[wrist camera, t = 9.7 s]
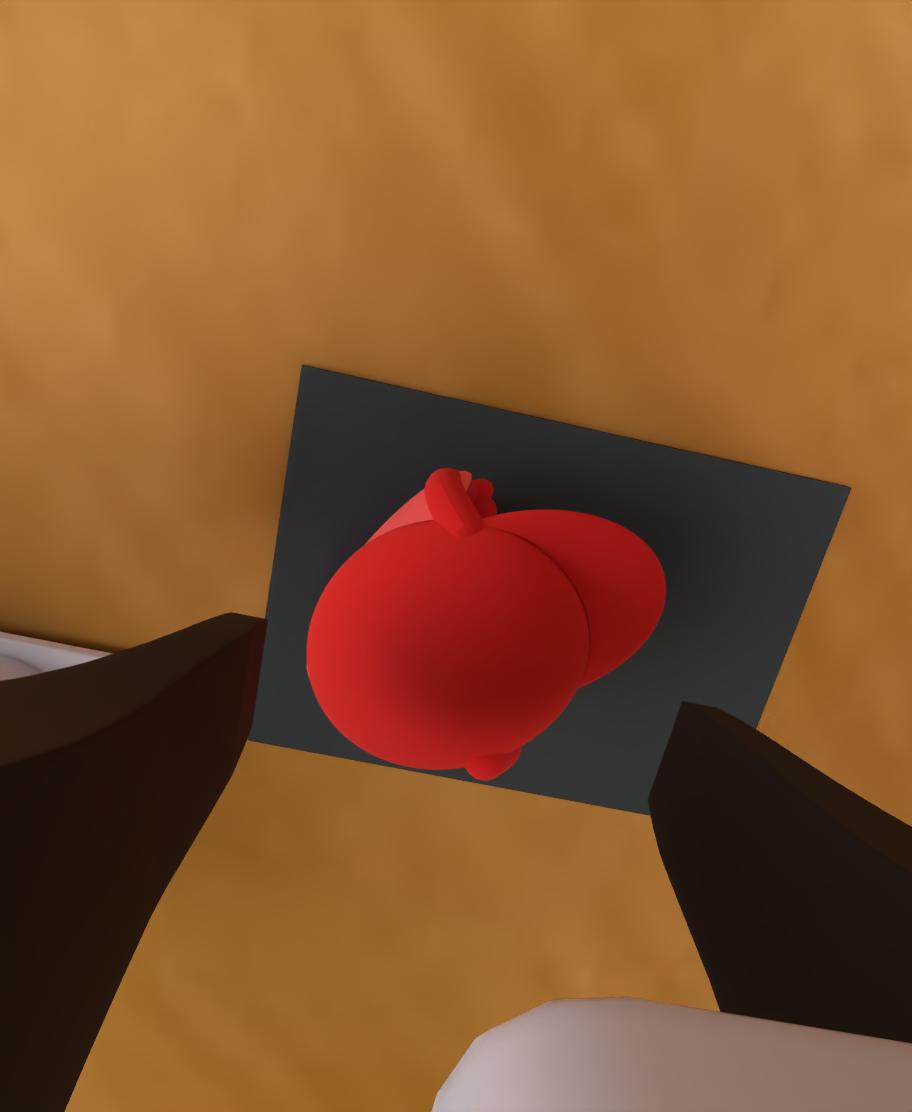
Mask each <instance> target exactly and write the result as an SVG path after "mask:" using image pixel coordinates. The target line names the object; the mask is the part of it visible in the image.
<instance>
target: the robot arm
mask: <svg viewBox="0 0 912 1112" xmlns="http://www.w3.org/2000/svg"><path fill="white" fill-rule="evenodd" d="M267 622H268V619H263V618H258V617H252V616H247V615H242V614H237V613H232V612H231V613H226V614H223V615H219V616H216V617H214V618H211V619H208V620H205V621H203V622H200V623H198V624H195V625H192V626H190V627H187V628H185V629H182V630H179V631H177V632H174V633H172V634H169V635H166V636H164V637H161V638H158V639H156V640H153V641H150V642H147V643H144V644H141V645H138V646H135V647H132V648H129V649H126V650H123V651H120V652H117V653H114V654H113V653H108V652H103V651H97V650H92V649H87V648H82V647H77V646H72V645H66V644H61V643H56V642H51V641H46V640H40V639H35V638H30V637H25V636H20V635H14V634H9V633H4V632H0V1112H64V1111H65V1109H66V1107H67V1104H68V1102H69V1100H70V1097H71V1095H72V1092H73V1090H74V1088H75V1085H76V1083H77V1081H78V1078H79V1076H80V1074H81V1071H82V1069H83V1067H84V1064H85V1062H86V1059H87V1057H88V1055H89V1053H90V1050H91V1048H92V1046H93V1044H94V1041H95V1039H96V1037H97V1035H98V1032H99V1030H100V1028H101V1026H102V1023H103V1021H104V1019H105V1016H106V1014H107V1012H108V1010H109V1007H110V1005H111V1003H112V1001H113V998H114V996H115V994H116V992H117V989H118V987H119V985H120V983H121V980H122V978H123V976H124V974H125V972H126V969H127V967H128V965H129V963H130V961H131V959H132V956H133V954H134V952H135V950H136V948H137V946H138V943H139V941H140V939H141V937H142V935H143V932H144V930H145V928H146V926H147V924H148V922H149V919H150V917H151V915H152V913H153V912H154V910H155V908H156V906H157V904H158V902H159V900H160V898H161V897H162V895H163V893H164V891H165V889H166V887H167V886H168V884H169V882H170V881H171V879H172V877H173V875H174V874H175V872H176V870H177V869H178V867H179V865H180V864H181V862H182V860H183V859H184V857H185V855H186V853H187V852H188V850H189V848H190V847H191V845H192V843H193V842H194V840H195V838H196V836H197V835H198V833H199V831H200V830H201V828H202V826H203V825H204V823H205V821H206V820H207V818H208V816H209V814H210V813H211V811H212V809H213V808H214V806H215V804H216V802H217V801H218V799H219V797H220V796H221V794H222V792H223V790H224V789H225V787H226V785H227V783H228V782H229V780H230V778H231V776H232V774H233V772H234V770H235V767H236V765H237V762H238V760H239V758H240V755H241V753H242V751H243V748H244V746H245V743H246V741H247V738H248V736H249V733H250V731H251V728H252V725H253V718H254V711H255V704H256V697H257V691H258V684H259V677H260V670H261V663H262V656H263V650H264V643H265V636H266V629H267ZM648 805H649V809H650V814H651V819H652V824H653V829H654V833H655V836H656V840H657V844H658V848H659V852H660V855H661V858H662V861H663V863H664V866H665V869H666V871H667V874H668V877H669V879H670V882H671V884H672V887H673V889H674V892H675V895H676V897H677V900H678V902H679V905H680V907H681V910H682V912H683V915H684V917H685V920H686V922H687V925H688V927H689V930H690V932H691V935H692V937H693V940H694V942H695V945H696V948H697V950H698V953H699V955H700V958H701V960H702V963H703V965H704V968H705V970H706V973H707V975H708V978H709V980H710V983H711V986H712V989H713V992H714V995H715V997H716V1000H717V1003H718V1006H719V1009H720V1012H717V1011H711V1010H705V1009H699V1008H693V1007H687V1006H681V1005H675V1004H669V1003H663V1002H657V1001H650V1000H644V999H638V998H632V997H605V998H581V999H557V1000H549V1001H547V1002H545V1003H543V1004H541V1005H539V1006H537V1007H535V1008H533V1009H531V1010H529V1011H527V1012H525V1013H523V1014H520V1015H518V1016H516V1017H514V1018H512V1019H510V1020H508V1021H506V1022H504V1023H502V1024H500V1025H498V1026H496V1027H494V1028H492V1029H489V1030H487V1031H486V1032H484V1033H483V1034H481V1035H480V1036H478V1037H477V1038H475V1040H474V1041H473V1043H472V1044H471V1046H470V1047H469V1048H468V1050H467V1051H466V1053H465V1054H464V1056H463V1057H462V1058H461V1060H460V1061H459V1063H458V1064H457V1066H456V1067H455V1068H454V1070H453V1071H452V1073H451V1074H450V1076H449V1077H448V1078H447V1080H446V1081H445V1083H444V1084H443V1086H442V1087H441V1088H440V1090H439V1091H438V1093H437V1095H436V1099H435V1102H434V1106H433V1109H432V1112H912V827H911V826H909V825H908V824H906V823H904V822H902V821H901V820H899V819H897V818H895V817H894V816H892V815H890V814H888V813H887V812H885V811H883V810H882V809H880V808H878V807H877V806H875V805H873V804H872V803H870V802H868V801H867V800H865V799H863V798H862V797H860V796H859V795H857V794H855V793H854V792H852V791H850V790H849V789H847V788H845V787H844V786H842V785H841V784H839V783H838V782H836V781H834V780H833V779H831V778H830V777H828V776H827V775H825V774H824V773H822V772H820V771H819V770H817V769H816V768H814V767H813V766H811V765H810V764H808V763H807V762H805V761H804V760H802V759H801V758H799V757H798V756H796V755H795V754H793V753H791V752H790V751H788V750H787V749H785V748H784V747H782V746H781V745H779V744H778V743H776V742H775V741H773V740H772V739H770V738H769V737H767V736H766V735H764V734H763V733H761V732H759V731H758V730H756V729H755V728H753V727H751V726H750V725H748V724H747V723H745V722H743V721H742V720H740V719H738V718H736V717H735V716H733V715H731V714H729V713H727V712H725V711H723V710H721V709H719V708H716V707H711V706H706V705H701V704H696V703H691V702H686V701H682V703H681V706H680V709H679V712H678V715H677V717H676V720H675V723H674V726H673V729H672V732H671V734H670V737H669V740H668V743H667V746H666V749H665V751H664V754H663V757H662V760H661V763H660V766H659V768H658V771H657V774H656V777H655V780H654V783H653V786H652V788H651V791H650V794H649V797H648Z"/></svg>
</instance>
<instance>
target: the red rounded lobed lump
mask: <svg viewBox="0 0 912 1112" xmlns="http://www.w3.org/2000/svg"><path fill="white" fill-rule="evenodd" d="M471 478H472V474H471V473H469V472H467V471H458V470H455V469H452V468H442V469H438V470H436V471H435V472H433V473H432V474H431V475H430V477H429V478H428V480H427V482H426V484H425V489H423V490H422V491H420V492H419V493H418V494H416V495H415V496H414V497H413V498H411V499H410V500H409V501H408V502H407V503H406V504H404V505H403V506H402V507H401V508H400V509H399V510H398V511H397V512H396V513H394V514H393V515H392V516H391V517H390V518H389V519H388V520H387V521H386V522H385V523H384V524H383V525H382V526H381V527H380V528H379V529H378V531H377V532H376V533H375V534H374V535H373V536H372V537H371V538H370V539H369V540H368V542H367V543H366V544H365V545H364V546H363V547H361V548H360V549H359V550H358V551H356V552H355V553H354V554H353V555H352V556H351V557H350V558H349V559H348V560H347V561H346V562H345V563H344V564H343V565H342V566H341V567H340V568H339V569H338V571H337V572H336V573H335V574H334V576H333V577H332V578H331V580H330V581H329V583H328V584H327V586H326V587H325V589H324V591H323V593H322V595H321V596H320V598H319V601H318V603H317V605H316V607H315V610H314V613H313V616H312V619H311V623H310V627H309V632H308V638H307V672H308V676H309V679H310V681H311V685H312V688H313V691H314V694H315V696H316V698H317V700H318V702H319V704H320V706H321V708H322V710H323V711H324V713H325V714H326V716H327V717H328V719H329V720H330V721H331V722H332V724H333V725H334V726H335V727H336V728H337V729H338V730H339V731H340V732H341V733H342V734H343V735H344V736H345V737H346V738H347V739H348V740H350V741H351V742H352V743H354V744H355V745H356V746H358V747H359V748H361V749H363V750H364V751H366V752H368V753H370V754H372V755H374V756H376V757H378V758H380V759H383V760H385V761H388V762H391V763H394V764H398V765H402V766H406V767H412V768H419V769H430V770H445V769H456V768H464V767H465V768H466V770H467V771H468V773H469V774H470V775H471V776H473V777H474V778H476V779H478V780H484V781H487V780H491V779H494V778H496V777H497V776H498V775H500V774H502V773H503V772H505V771H506V770H508V769H509V768H510V767H511V766H512V765H513V764H515V762H516V761H517V759H518V757H519V755H520V752H521V748H522V746H523V745H524V744H526V743H528V742H529V741H531V740H532V739H533V738H535V737H536V736H537V735H539V734H540V733H541V732H543V731H544V730H545V729H546V728H547V727H548V726H549V725H550V724H551V723H552V722H553V721H554V720H555V719H556V718H557V717H558V716H559V715H560V714H561V713H562V711H563V710H564V709H565V708H566V706H567V705H568V704H569V702H570V701H571V699H572V697H573V696H574V694H575V693H576V691H577V689H578V688H580V687H582V686H585V685H587V684H589V683H591V682H593V681H595V680H597V679H599V678H601V677H602V676H604V675H606V674H608V673H609V672H611V671H612V670H614V669H615V668H617V667H618V666H620V665H621V664H622V663H624V662H625V661H626V660H627V659H628V658H630V657H631V656H632V655H633V654H634V653H635V652H636V651H637V650H638V649H639V648H640V647H641V646H642V645H643V644H644V642H645V641H646V640H647V639H648V637H649V636H650V635H651V633H652V632H653V630H654V628H655V627H656V625H657V623H658V621H659V619H660V617H661V614H662V611H663V608H664V604H665V598H666V581H665V576H664V572H663V569H662V566H661V564H660V562H659V560H658V558H657V557H656V555H655V554H654V552H653V551H652V550H651V548H650V547H649V546H648V545H647V544H646V543H645V542H644V541H643V540H642V539H641V538H639V537H638V536H637V535H636V534H634V533H633V532H631V531H630V530H628V529H626V528H625V527H623V526H621V525H619V524H617V523H614V522H612V521H610V520H607V519H604V518H601V517H598V516H594V515H591V514H586V513H581V512H575V511H568V510H553V509H539V510H523V511H515V512H508V513H503V514H498V515H497V507H496V504H495V502H494V500H493V499H492V498H491V497H492V495H493V491H494V489H493V485H492V484H491V482H490V481H488V480H486V479H476V480H472V479H471Z"/></svg>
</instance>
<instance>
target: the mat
mask: <svg viewBox="0 0 912 1112" xmlns="http://www.w3.org/2000/svg"><path fill="white" fill-rule="evenodd" d="M442 468H452V469H455V470H458V471H467V472H469V473H471V474H472V478H471V479H472V480H476V479H486V480H488V481H490V482H491V484H492V485H493V489H494V491H493V495H492V497H491V498H492V499H493V500H494V502H495V504H496V507H497V515H498V514H503V513H508V512H515V511H523V510H539V509H553V510H568V511H575V512H581V513H586V514H591V515H594V516H598V517H601V518H604V519H607V520H610V521H612V522H614V523H617V524H619V525H621V526H623V527H625V528H626V529H628V530H630V531H631V532H633V533H634V534H636V535H637V536H638V537H639V538H641V539H642V540H643V541H644V542H645V543H646V544H647V545H648V546H649V547H650V548H651V550H652V551H653V552H654V554H655V555H656V557H657V558H658V560H659V562H660V564H661V566H662V569H663V572H664V576H665V581H666V598H665V604H664V608H663V611H662V614H661V617H660V619H659V621H658V623H657V625H656V627H655V628H654V630H653V632H652V633H651V635H650V636H649V637H648V639H647V640H646V641H645V642H644V644H643V645H642V646H641V647H640V648H639V649H638V650H637V651H636V652H635V653H634V654H633V655H632V656H631V657H630V658H628V659H627V660H626V661H625V662H624V663H622V664H621V665H620V666H618V667H617V668H615V669H614V670H612V671H611V672H609V673H608V674H606V675H604V676H602V677H601V678H599V679H597V680H595V681H593V682H591V683H589V684H587V685H585V686H582V687H580V688H578V689H577V691H576V693H575V694H574V696H573V697H572V699H571V701H570V702H569V704H568V705H567V706H566V708H565V709H564V710H563V711H562V713H561V714H560V715H559V716H558V717H557V718H556V719H555V720H554V721H553V722H552V723H551V724H550V725H549V726H548V727H547V728H546V729H545V730H544V731H543V732H541V733H540V734H539V735H537V736H536V737H535V738H533V739H532V740H531V741H529V742H528V743H526V744H524V745H523V746H522V748H521V752H520V755H519V757H518V759H517V761H516V762H515V764H513V765H512V766H511V767H510V768H509V769H508V770H506V771H505V772H503V773H502V774H500V775H498V776H497V777H496V778H494V779H491V780H487V781H484V780H478V779H476V778H474V777H473V776H471V775H470V774H469V773H468V771H467V770H466V768H465V767H464V768H456V769H445V770H430V769H419V768H412V767H406V766H402V765H398V764H394V763H391V762H388V761H385V760H383V759H380V758H378V757H376V756H374V755H372V754H370V753H368V752H366V751H364V750H363V749H361V748H359V747H358V746H356V745H355V744H354V743H352V742H351V741H350V740H348V739H347V738H346V737H345V736H344V735H343V734H342V733H341V732H340V731H339V730H338V729H337V728H336V727H335V726H334V725H333V724H332V722H331V721H330V720H329V719H328V717H327V716H326V714H325V713H324V711H323V710H322V708H321V706H320V704H319V702H318V700H317V698H316V696H315V694H314V691H313V688H312V685H311V681H310V679H309V676H308V672H307V638H308V632H309V627H310V623H311V619H312V616H313V613H314V610H315V607H316V605H317V603H318V601H319V598H320V596H321V595H322V593H323V591H324V589H325V587H326V586H327V584H328V583H329V581H330V580H331V578H332V577H333V576H334V574H335V573H336V572H337V571H338V569H339V568H340V567H341V566H342V565H343V564H344V563H345V562H346V561H347V560H348V559H349V558H350V557H351V556H352V555H353V554H354V553H355V552H356V551H358V550H359V549H360V548H361V547H363V546H364V545H365V544H366V543H367V542H368V540H369V539H370V538H371V537H372V536H373V535H374V534H375V533H376V532H377V531H378V529H379V528H380V527H381V526H382V525H383V524H384V523H385V522H386V521H387V520H388V519H389V518H390V517H391V516H392V515H393V514H394V513H396V512H397V511H398V510H399V509H400V508H401V507H402V506H403V505H404V504H406V503H407V502H408V501H409V500H410V499H411V498H413V497H414V496H415V495H416V494H418V493H419V492H420V491H422V490H423V489H425V484H426V482H427V480H428V478H429V477H430V475H431V474H432V473H433V472H435V471H436V470H438V469H442ZM850 490H851V488H850V487H847V486H842V485H838V484H833V483H829V482H824V481H820V480H815V479H811V478H806V477H802V476H797V475H793V474H788V473H784V472H779V471H775V470H770V469H766V468H762V467H757V466H753V465H748V464H744V463H739V462H735V461H730V460H726V459H721V458H717V457H712V456H708V455H703V454H699V453H694V452H690V451H685V450H681V449H676V448H672V447H668V446H663V445H659V444H654V443H650V442H645V441H641V440H636V439H632V438H627V437H623V436H618V435H614V434H609V433H605V432H600V431H596V430H591V429H587V428H582V427H578V426H573V425H569V424H565V423H560V422H556V421H551V420H547V419H542V418H538V417H533V416H529V415H524V414H520V413H515V412H511V411H506V410H502V409H497V408H493V407H488V406H484V405H479V404H475V403H471V402H466V401H462V400H457V399H453V398H448V397H444V396H439V395H435V394H430V393H426V392H421V391H417V390H412V389H408V388H403V387H399V386H394V385H390V384H385V383H381V382H377V381H372V380H368V379H363V378H359V377H354V376H350V375H345V374H341V373H336V372H332V371H327V370H323V369H318V368H314V367H309V366H305V365H302V369H301V375H300V382H299V389H298V396H297V403H296V410H295V417H294V424H293V430H292V437H291V444H290V451H289V458H288V465H287V472H286V479H285V486H284V492H283V499H282V506H281V513H280V520H279V527H278V534H277V541H276V547H275V554H274V561H273V568H272V575H271V582H270V589H269V596H268V602H267V609H266V616H265V619H268V622H267V629H266V636H265V643H264V650H263V656H262V663H261V670H260V677H259V684H258V691H257V697H256V704H255V711H254V718H253V725H252V728H251V731H250V733H249V736H248V740H249V741H255V742H260V743H265V744H271V745H276V746H281V747H287V748H292V749H297V750H303V751H308V752H313V753H319V754H324V755H329V756H335V757H340V758H345V759H351V760H356V761H361V762H367V763H372V764H378V765H383V766H388V767H394V768H399V769H404V770H410V771H415V772H420V773H426V774H431V775H436V776H442V777H447V778H452V779H458V780H463V781H468V782H474V783H479V784H484V785H490V786H495V787H500V788H506V789H511V790H517V791H522V792H527V793H533V794H538V795H543V796H549V797H554V798H559V799H565V800H570V801H575V802H581V803H586V804H591V805H597V806H602V807H607V808H613V809H618V810H623V811H629V812H634V813H640V814H645V815H650V816H651V814H650V809H649V805H648V797H649V794H650V791H651V788H652V786H653V783H654V780H655V777H656V774H657V771H658V768H659V766H660V763H661V760H662V757H663V754H664V751H665V749H666V746H667V743H668V740H669V737H670V734H671V732H672V729H673V726H674V723H675V720H676V717H677V715H678V712H679V709H680V706H681V703H682V701H686V702H691V703H696V704H701V705H706V706H711V707H716V708H719V709H721V710H723V711H725V712H727V713H729V714H731V715H733V716H735V717H736V718H738V719H740V720H742V721H743V722H745V723H747V724H748V725H750V726H751V727H753V728H755V729H756V728H757V725H758V723H759V720H760V718H761V715H762V712H763V710H764V707H765V705H766V702H767V700H768V697H769V695H770V692H771V690H772V687H773V685H774V682H775V680H776V677H777V675H778V672H779V670H780V667H781V664H782V662H783V659H784V657H785V654H786V652H787V649H788V647H789V644H790V642H791V639H792V637H793V634H794V632H795V629H796V627H797V624H798V622H799V619H800V617H801V614H802V611H803V609H804V606H805V604H806V601H807V599H808V596H809V594H810V591H811V589H812V586H813V584H814V581H815V579H816V576H817V574H818V571H819V569H820V566H821V564H822V561H823V558H824V556H825V553H826V551H827V548H828V546H829V543H830V541H831V538H832V536H833V533H834V531H835V528H836V526H837V523H838V521H839V518H840V516H841V513H842V511H843V508H844V505H845V503H846V500H847V498H848V495H849V493H850Z"/></svg>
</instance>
